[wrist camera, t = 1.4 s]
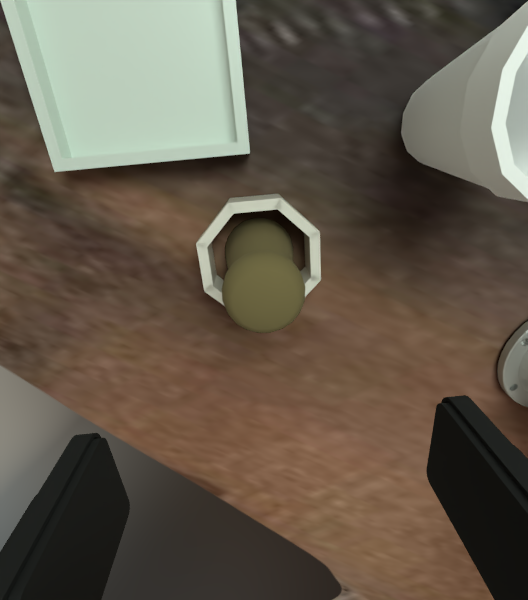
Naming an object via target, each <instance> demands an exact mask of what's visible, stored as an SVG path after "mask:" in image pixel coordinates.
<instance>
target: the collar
mask: <svg viewBox="0 0 528 600" xmlns="http://www.w3.org/2000/svg"><path fill="white" fill-rule="evenodd" d="M277 209H278V210H279V211H280V212H281V213H282V214H283V215H285V216H286V217H287V218H288V219H289V220H290V221H291V222H293V223H294V224H295V225H296V226H297V227H298V228H300V229H301V230H302V231H303V232H304V246H305V267H304V268H303V269H302V270H301V271H300V272H301V274H302V277H303V281H304V284H305V296H306V295H307V294H308V293H309V292H310V291H311V290H312V289H313V288H314V287H315V286H316V285H317V284H318V283H319V282H320V281H321V266H320V232H319V231H318V229H317V228H316V227H315V226H314V225H313V224H312V223H311V222H309V221H308V220H307V219H306V218H305V217H304V216H303V215H302V214H300V213H299V212H298V211H297V210H296V209H295V208H294V207H293V206H291V205H290V204H289V203H288V202H287V201H286V200H285V199H283V198H282V197H281V196H280V195H279V194H269V195H258V196H248V197H237V198H230V199H229V200H228V201H227V203H226V204H225V205H224V206H223V208H222V209H221V210H220V212H219V213H218V214H217V216H216V217H215V218H214V219H213V221H212V222H211V223H210V225H209V226H208V227H207V229H206V230H205V231H204V232H203V234H202V235H201V236H200V238H199V240H198V242H197V243H196V246H197V252H198V257H199V263H200V269H201V275H202V281H203V287H204V292H206V293H207V294H209V295H210V296H211V297H213V298H214V299H216V300H217V301H218V302H220V303H221V304H223V305H224V303H223V301H222V285H223V282H224V280H223V279H222V278H220V277H219V276H218V275H217V274H216V267H215V261H214V254H213V247H212V240H213V239H214V238H215V237H216V235H217V234H218V233H219V231H220V230H221V229H222V228H223V226H224V225H225V224H226V223H227V221H228V220H229V219H230V218H231V216H232V215H233V214H235V213H245V212H256V211H267V210H277Z"/></svg>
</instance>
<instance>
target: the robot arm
mask: <svg viewBox="0 0 528 600" xmlns="http://www.w3.org/2000/svg"><path fill="white" fill-rule="evenodd" d="M497 373H498V380H499V383H500V385H501V388H502V389H503V390H504V391H505V393H506V394H507V395H508V396H510V397H511V398H512V399H513V400H514V401H515V402H517V403H519V404H521V405H522V406H526V407H528V321H527V322H526V323H524V324H523V325H522V326H521V327H520V328H519V329H518V330H517V331H516V332H515V333H514V334H513V335H512V337H511V338H510V339H509V341H508V342H507V344H506V345H505V347H504V349H503V351H502V353H501V356H500V359H499V362H498V370H497ZM427 477H428V480H429V483H430V485H431V486H432V488H433V490H434V492H435V494H436V495H437V497H438V499H439V501H440V503H441V504H442V506H443V508H444V510H445V512H446V513H447V515H448V517H449V519H450V521H451V522H452V524H453V526H454V528H455V530H456V531H457V533H458V535H459V537H460V539H461V540H462V542H463V544H464V546H465V548H466V549H467V551H468V553H469V555H470V556H471V558H472V560H473V562H474V564H475V565H476V567H477V569H478V571H479V573H480V574H481V576H482V578H483V580H484V582H485V583H486V585H487V587H488V589H489V591H490V592H491V594H492V596H493V598H494V600H528V459H527V458H526V457H525V456H524V455H523V453H522V452H521V451H520V450H519V449H518V448H516V447H515V446H514V445H512V444H511V442H510V441H509V440H508V439H507V438H506V437H505V436H504V435H503V434H502V433H501V431H500V430H499V429H498V428H497V427H496V426H495V425H494V424H493V423H492V422H491V421H490V419H489V418H488V417H487V416H486V415H485V414H484V413H483V412H482V411H481V410H480V409H479V407H478V406H477V405H476V404H475V403H474V402H473V401H472V400H471V399H470V398H469V397H468V396H465V395H464V396H455V397H445V398H443V399H442V402H441V403H439V404H438V405H437V407H436V413H435V419H434V426H433V432H432V439H431V445H430V451H429V458H428V464H427ZM129 506H130V504H129V499H128V497H127V494H126V491H125V488H124V486H123V483H122V480H121V478H120V475H119V472H118V470H117V467H116V464H115V461H114V459H113V456H112V453H111V451H110V448H109V445H108V443H107V440H106V439H105V438H101V437H100V435H99V434H98V433H92V434H82V435H75V436H74V437H73V438H72V439H71V441H70V442H69V444H68V446H67V447H66V449H65V450H64V452H63V454H62V455H61V457H60V459H59V460H58V462H57V463H56V465H55V467H54V468H53V470H52V472H51V473H50V475H49V476H48V478H47V480H46V481H45V483H44V485H43V486H42V488H41V489H40V491H39V493H38V494H37V495H36V496H35V497H34V499H33V500H32V502H31V503H30V505H29V506H28V508H27V510H26V511H25V513H24V514H23V516H22V518H21V519H20V521H19V523H18V524H17V526H16V528H15V529H14V531H13V532H12V534H11V536H10V537H9V539H8V540H7V542H6V544H5V545H4V547H3V549H2V550H1V552H0V600H101V598H102V595H103V592H104V589H105V586H106V583H107V580H108V577H109V574H110V571H111V568H112V564H113V561H114V558H115V555H116V552H117V549H118V546H119V543H120V540H121V537H122V534H123V531H124V528H125V524H126V521H127V518H128V515H129V509H130V507H129Z"/></svg>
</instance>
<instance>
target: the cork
mask: <svg viewBox="0 0 528 600" xmlns="http://www.w3.org/2000/svg"><path fill="white" fill-rule="evenodd" d="M225 258H226V262H227V267H228V271H227V272H226V275H225V278H224V282H223V285H222V301H223V303H224V306H225V308H226V310H227V313H228V315H229V316H230V317H231V318H232V319H233V320H234V322H235V323H236V324H238V325H239V326H241V327H243V328H244V329H246V330H249V331H253V332H257V333H270V332H274V331H277V330H280V329H283V328H284V327H286V326H287V325H289V324H290V323H292V322H293V321H294V319H295V318H296V317H297V316H298V315H299V313H300V311H301V308H302V306H303V303H304V300H305V284H304V281H303V277H302V274H301V272H300V271H299V269H298V268H297V267H296V265H295V264H294V263H293V244H292V241H291V238H290V236H289V234H288V233H287V231H286V230H285V229H284V227H282V226H281V225H279V224H278V223H277V222H275V221H272V220H269V219H266V218H252V219H249V220H246V221H243V222H242V223H240V224H239V225H238V226H236V227H235V228H234V229H233V231H232V232H231V234H230V235H229V236H228V239H227V242H226V246H225Z"/></svg>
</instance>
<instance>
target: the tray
mask: <svg viewBox="0 0 528 600" xmlns="http://www.w3.org/2000/svg"><path fill="white" fill-rule="evenodd" d="M0 1H1V4H2V7H3V10H4V13H5V17H6V20H7V23H8V26H9V29H10V32H11V36H12V39H13V42H14V45H15V48H16V51H17V55H18V58H19V61H20V64H21V67H22V70H23V74H24V77H25V80H26V83H27V86H28V89H29V93H30V96H31V99H32V102H33V105H34V108H35V112H36V115H37V118H38V121H39V124H40V127H41V131H42V134H43V137H44V140H45V143H46V146H47V150H48V153H49V156H50V159H51V162H52V165H53V169H54V172H59V171H70V170H81V169H92V168H102V167H113V166H123V165H134V164H145V163H155V162H166V161H176V160H187V159H198V158H208V157H219V156H229V155H240V154H250V148H249V137H248V126H247V116H246V105H245V95H244V84H243V74H242V63H241V52H240V42H239V31H238V21H237V10H236V0H0Z"/></svg>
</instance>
